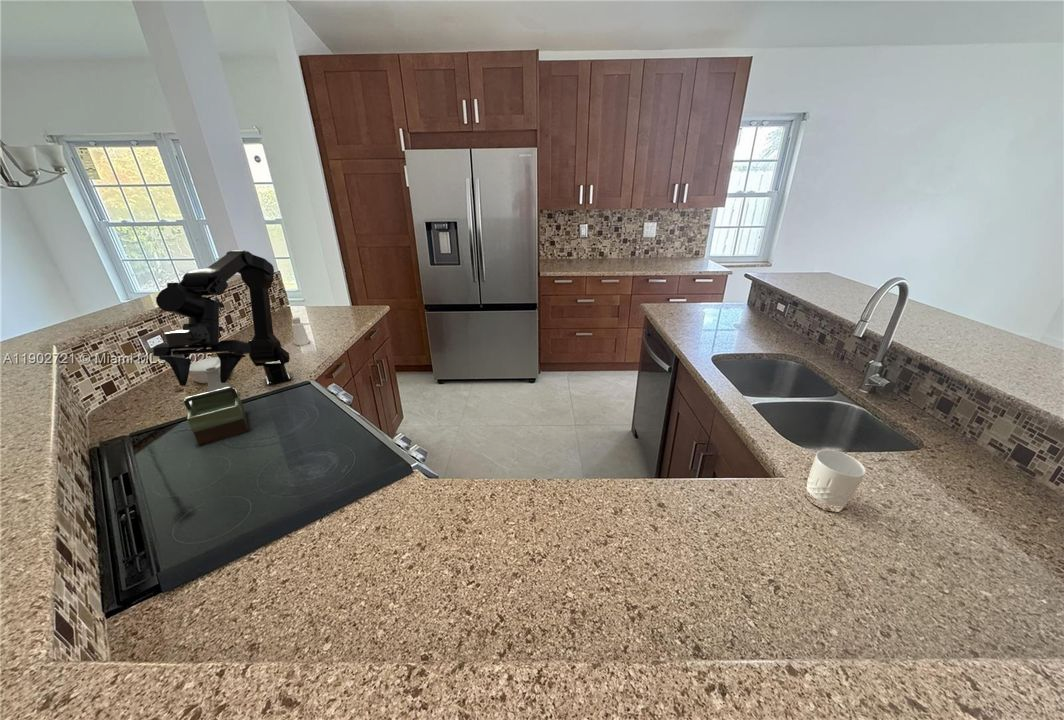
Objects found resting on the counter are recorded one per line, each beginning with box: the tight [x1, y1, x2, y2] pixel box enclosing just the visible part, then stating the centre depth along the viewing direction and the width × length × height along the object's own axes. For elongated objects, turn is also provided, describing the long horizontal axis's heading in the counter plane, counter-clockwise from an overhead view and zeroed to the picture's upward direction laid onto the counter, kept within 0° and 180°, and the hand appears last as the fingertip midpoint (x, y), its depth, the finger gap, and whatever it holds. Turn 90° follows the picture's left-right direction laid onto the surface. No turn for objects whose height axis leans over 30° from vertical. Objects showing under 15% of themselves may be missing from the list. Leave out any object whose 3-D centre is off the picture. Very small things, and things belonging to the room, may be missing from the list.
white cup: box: [805, 449, 867, 506], centre depth 74 cm, size 8×8×10 cm
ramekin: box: [189, 356, 220, 384], centre depth 124 cm, size 11×11×5 cm
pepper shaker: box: [291, 316, 310, 346], centre depth 151 cm, size 5×5×11 cm
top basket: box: [183, 386, 243, 434], centre depth 95 cm, size 11×10×7 cm
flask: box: [204, 367, 231, 393], centre depth 111 cm, size 7×7×10 cm
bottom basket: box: [193, 401, 249, 447], centre depth 98 cm, size 11×10×4 cm
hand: (203, 384), depth 90 cm, fingers open, 9 cm apart
